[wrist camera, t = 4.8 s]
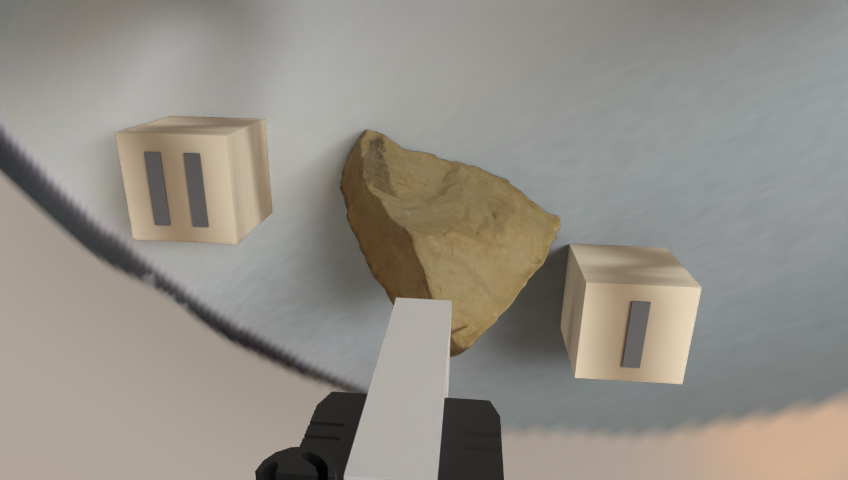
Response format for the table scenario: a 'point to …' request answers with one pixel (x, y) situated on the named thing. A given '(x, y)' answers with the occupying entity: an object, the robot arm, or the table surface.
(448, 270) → the rock
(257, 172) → the birch block
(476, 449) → the robot arm
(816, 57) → the table surface
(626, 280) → the birch block
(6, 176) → the table surface
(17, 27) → the table surface
